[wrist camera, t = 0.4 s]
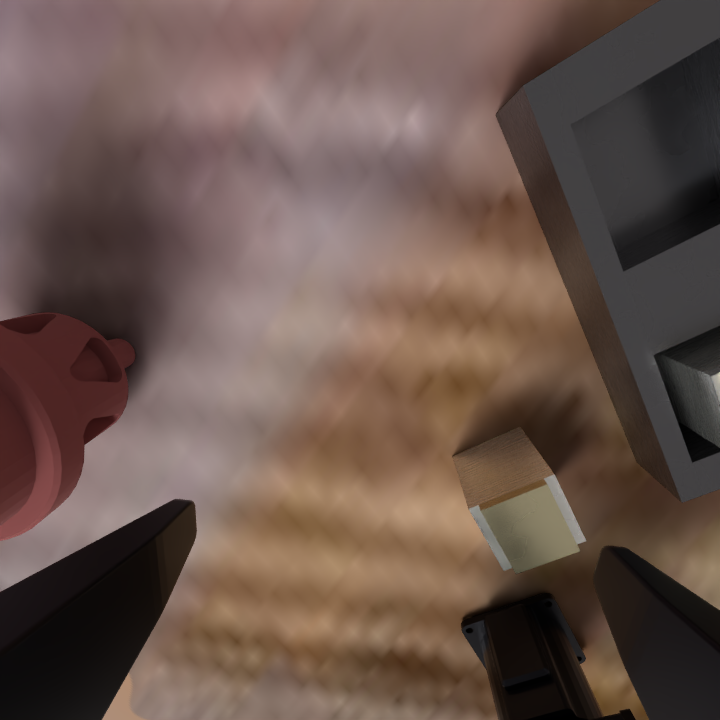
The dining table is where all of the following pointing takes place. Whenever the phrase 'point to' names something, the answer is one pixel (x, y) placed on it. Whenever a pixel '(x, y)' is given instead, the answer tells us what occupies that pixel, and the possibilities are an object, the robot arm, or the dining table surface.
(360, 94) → the dining table surface
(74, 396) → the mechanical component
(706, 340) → the beige block
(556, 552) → the cream two-tone block
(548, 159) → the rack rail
